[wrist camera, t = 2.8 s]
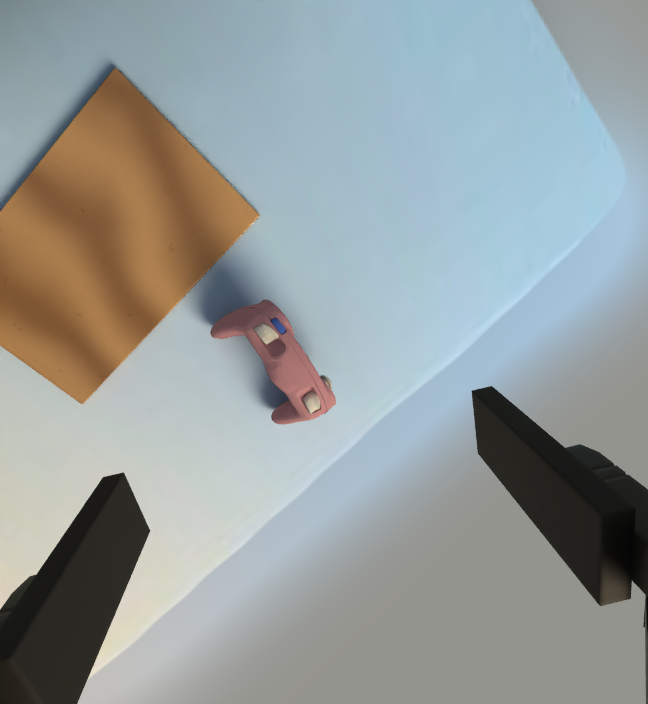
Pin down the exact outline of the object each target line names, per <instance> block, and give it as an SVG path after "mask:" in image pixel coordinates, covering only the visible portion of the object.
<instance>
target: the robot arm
mask: <svg viewBox="0 0 648 704" xmlns="http://www.w3.org/2000/svg"><path fill="white" fill-rule="evenodd" d="M472 398H473V408H474V418H475V429H476V439H477V449H478V454H479V455H480V456H481V458H482V459H483V460H484V461H485V463H486V464H487V465H488V466H489V468H490V469H491V470H492V471H493V473H494V474H495V475H496V476H497V478H498V479H499V480H500V481H501V483H502V484H503V485H504V486H505V488H506V489H507V490H508V491H509V492H510V494H511V495H512V497H513V498H514V499H515V500H516V501H517V503H518V504H519V505H520V507H521V508H522V509H523V510H524V511H525V513H526V514H527V515H528V517H529V518H530V519H531V520H532V521H533V523H534V524H535V525H536V526H537V528H538V529H539V530H540V532H541V533H542V534H543V535H544V536H545V538H546V539H547V540H548V542H549V543H550V544H551V545H552V547H553V548H554V549H555V550H556V552H557V553H558V554H559V555H560V557H561V558H562V559H563V560H564V562H565V563H566V564H567V565H568V566H569V568H570V569H571V570H572V571H573V573H574V574H575V575H576V577H577V578H578V579H579V580H580V582H581V583H582V584H583V585H584V587H585V588H586V589H587V590H588V592H589V593H590V594H591V595H592V597H593V598H594V599H595V600H596V602H597V603H598V604H599V605H600V606H603V605H607V604H611V603H614V602H619V601H623V600H627V599H630V598H631V583H632V581H633V582H634V583H635V584H636V585H637V586H638V587H639V588H640V589H641V590H642V591H643V592H644V593H645V595H646V599H645V612H644V627H645V637H646V638H645V639H646V643H645V644H646V704H648V490H647V489H646V488H645V487H644V486H642V485H641V484H640V483H639V482H637V481H636V480H635V479H633V478H632V477H631V476H629V475H626V473H625V472H624V471H623V470H622V469H620V468H619V467H618V466H614V464H613V463H612V462H611V461H610V460H608V459H607V458H606V457H605V456H603V455H602V454H601V453H599V452H597V451H595V450H592V449H590V448H588V447H585V446H583V445H575V446H571V447H567V448H564V447H563V446H562V445H561V444H560V443H558V442H557V441H556V440H555V439H554V438H553V437H551V436H550V435H549V434H548V433H547V432H545V431H544V430H543V429H542V428H541V427H540V426H538V425H537V424H536V423H535V422H534V421H532V420H531V419H530V418H529V417H528V416H526V415H525V414H524V413H523V412H522V411H520V410H519V409H518V408H517V407H516V406H515V405H513V404H512V403H511V402H510V401H509V400H508V399H506V398H505V397H504V396H503V395H502V394H500V393H499V392H498V391H497V390H496V389H495V388H493V387H492V386H491V387H486V388H482V389H477V390H474V391H472ZM149 532H150V530H149V527H148V525H147V523H146V521H145V518H144V516H143V514H142V512H141V510H140V507H139V505H138V503H137V501H136V499H135V496H134V494H133V492H132V490H131V487H130V485H129V483H128V481H127V479H126V476H125V474H124V473H119V474H115V475H111V476H107V477H103V478H102V480H101V481H100V483H99V484H98V486H97V487H96V489H95V490H94V491H93V493H92V494H91V496H90V497H89V499H88V500H87V502H86V503H85V505H84V506H83V508H82V509H81V510H80V512H79V513H78V515H77V516H76V518H75V519H74V521H73V522H72V524H71V525H70V526H69V528H68V529H67V531H66V532H65V534H64V535H63V537H62V538H61V540H60V541H59V543H58V544H57V545H56V547H55V548H54V550H53V551H52V553H51V554H50V556H49V557H48V559H47V560H46V562H45V563H44V564H43V566H42V567H41V569H40V570H39V572H38V573H37V575H33V576H30V577H29V578H28V579H27V580H26V581H25V582H23V583H22V584H21V585H20V586H19V587H18V588H17V589H16V590H15V591H14V592H13V593H12V594H11V596H10V597H9V598H8V600H7V601H6V603H5V604H4V605H3V607H2V608H1V610H0V704H77V703H78V700H79V698H80V695H81V693H82V691H83V688H84V686H85V684H86V681H87V679H88V677H89V674H90V672H91V670H92V667H93V665H94V662H95V660H96V658H97V655H98V653H99V651H100V648H101V646H102V644H103V641H104V639H105V636H106V634H107V632H108V629H109V627H110V625H111V622H112V620H113V618H114V615H115V613H116V610H117V608H118V606H119V603H120V601H121V599H122V596H123V594H124V591H125V589H126V587H127V584H128V582H129V580H130V577H131V575H132V573H133V570H134V568H135V565H136V563H137V561H138V558H139V556H140V554H141V551H142V549H143V547H144V544H145V542H146V539H147V537H148V535H149Z"/></svg>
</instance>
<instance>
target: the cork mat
mask: <svg viewBox="0 0 648 704" xmlns="http://www.w3.org/2000/svg"><path fill="white" fill-rule="evenodd" d="M259 216H260V215H259V213H258V212H257V211H256V210H255V209H254V208H253V207H252V206H251V205H250V204H249V203H248V202H247V201H246V200H245V199H244V198H243V197H242V196H241V195H240V194H239V193H238V192H237V191H236V190H235V189H234V188H233V187H232V186H231V185H230V184H229V183H228V182H227V181H226V180H225V179H224V178H223V177H222V176H221V175H220V174H219V172H218V171H217V170H216V169H215V168H214V167H213V166H212V165H211V164H210V163H209V162H208V161H207V160H206V159H205V158H204V157H203V156H202V155H201V154H200V153H199V152H198V151H197V150H196V149H195V148H194V147H193V146H192V145H191V144H190V143H189V142H188V141H187V140H186V139H185V138H184V137H183V136H182V135H181V134H180V133H179V131H178V130H177V129H176V128H175V127H174V126H173V125H172V124H171V123H170V122H169V121H168V120H167V119H166V118H165V117H164V116H163V115H162V114H161V113H160V112H159V111H158V110H157V109H156V108H155V107H154V106H153V105H152V104H151V103H150V102H149V101H148V100H147V99H146V98H145V97H144V96H143V95H142V94H141V93H140V92H139V90H138V89H137V88H136V87H135V86H134V85H133V84H132V83H131V82H130V81H129V80H128V79H127V78H126V77H125V76H124V75H123V74H122V73H121V72H120V71H119V70H118V69H117V68H114V69H113V71H112V72H111V73H110V74H109V76H108V77H107V78H106V79H105V81H104V82H103V83H102V84H101V86H100V87H99V88H98V89H97V91H96V92H95V93H94V94H93V96H92V97H91V98H90V99H89V101H88V102H87V103H86V104H85V106H84V107H83V108H82V109H81V111H80V112H79V113H78V114H77V116H76V117H75V118H74V119H73V121H72V122H71V123H70V124H69V126H68V127H67V128H66V130H65V131H64V132H63V133H62V135H61V136H60V137H59V138H58V140H57V141H56V142H55V143H54V145H53V146H52V147H51V148H50V150H49V151H48V152H47V153H46V155H45V156H44V157H43V158H42V160H41V161H40V162H39V163H38V165H37V166H36V167H35V168H34V170H33V171H32V172H31V173H30V175H29V176H28V177H27V178H26V180H25V181H24V182H23V183H22V185H21V186H20V187H19V188H18V190H17V191H16V192H15V193H14V195H13V196H12V197H11V198H10V200H9V201H8V202H7V203H6V205H5V206H4V207H3V209H2V210H1V211H0V346H2V347H3V348H5V349H6V350H7V351H9V352H10V353H12V354H13V355H14V356H16V357H17V358H18V359H20V360H21V361H23V362H24V363H25V364H27V365H28V366H30V367H31V368H32V369H34V370H35V371H36V372H38V373H39V374H41V375H42V376H43V377H45V378H46V379H48V380H49V381H50V382H52V383H53V384H55V385H56V386H57V387H59V388H60V389H61V390H63V391H64V392H66V393H67V394H68V395H70V396H71V397H73V398H74V399H75V400H77V401H78V402H79V403H81V404H83V403H84V402H85V401H86V400H87V399H88V398H89V397H90V396H91V395H92V394H93V393H94V392H95V391H96V390H97V389H98V387H99V386H100V385H101V384H102V383H103V382H104V381H105V380H106V379H107V378H108V377H109V376H110V375H111V374H112V373H113V372H114V370H115V369H116V368H117V367H118V366H119V365H120V364H121V363H122V362H123V361H124V360H125V359H126V358H127V357H128V356H129V354H130V353H131V352H132V351H133V350H134V349H135V348H136V347H137V346H138V345H139V344H140V343H141V342H142V341H143V340H144V339H145V337H146V336H147V335H148V334H149V333H150V332H151V331H152V330H153V329H154V328H155V327H156V326H157V325H158V324H159V323H160V322H161V320H162V319H163V318H164V317H165V316H166V315H167V314H168V313H169V312H170V311H171V310H172V309H173V308H174V307H175V306H176V305H177V303H178V302H179V301H180V300H181V299H182V298H183V297H184V296H185V295H186V294H187V293H188V292H189V291H190V290H191V289H192V288H193V286H194V285H195V284H196V283H197V282H198V281H199V280H200V279H201V278H202V277H203V276H204V275H205V274H206V273H207V272H208V271H209V269H210V268H211V267H212V266H213V265H214V264H215V263H216V262H217V261H218V260H219V259H220V258H221V257H222V256H223V255H224V254H225V252H226V251H227V250H228V249H229V248H230V247H231V246H232V245H233V244H234V243H235V242H236V241H237V240H238V239H239V238H240V237H241V235H242V234H243V233H244V232H245V231H246V230H247V229H248V228H249V227H250V226H251V225H252V224H253V223H254V222H255V221H256V220H257V218H258V217H259Z"/></svg>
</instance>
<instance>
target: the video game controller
mask: <svg viewBox="0 0 648 704" xmlns="http://www.w3.org/2000/svg"><path fill="white" fill-rule="evenodd" d="M238 335H245V336H246V337H247V338H248V340H249V341H250V343H251V344H252V346H253V348H254V349H255V350H256V352H257V353H258V354H259V356H260V357H261V359H262V360H263V362H264V365H265V368H266V371H267V373H268V375H269V377H270V379H271V380H272V382H273V383H274V384H275V385H276V386H277V387H278V388H279V389H280V390H282V391H283V392H284V393H285V394H286V395H287V397H288V398H289V400H288V401H286V402H284V403H283V404H281V405H280V406H278V407H277V408H276V409H275V410H274V411H273V413H272V416H271V418H272V420H273V421H274V422H275V423H277V424H290V423H295V422H300V421H306V420H311V419H314V418H316V417H318V416H320V415H322V414H325V413H326V412H327V411H328V410H329V409H331V408H332V407H333V406H334V405H335V404H336V400H335V396H334V394H333V392H332V390H331V389H330V388H332V383H331V381H330V379H329V378H328V377H326V376H323V375H321V377H320V376H319V374H318V373H317V371H316V369H315V368H314V366H313V365H312V363H311V361H310V360H309V358H308V357H307V355H306V354H305V352H304V351H303V349H302V348H301V346H300V345H299V344H298V342H297V341H296V339H295V338H294V333H293V330H292V327H291V325H290V323H289V321H288V319H287V318H286V317H285V315H284V314H283V313H282V312H281V310H280V309H279V308H278V307H277V306H276V305H275V304H274V303H272V302H271V301H269V300H263V301H261V302H260V303H259V304H256V305H249V306H245V307H242V308H239V309H237V310H234V311H232V312H231V313H229V314H227V315H226V316H224V317H222V318H221V319H219V320H218V321H217V322H216V323H215V324H214V326H213V327H212V329H211V336H212V337H214V338H219V339H224V338H228V337H232V336H238Z"/></svg>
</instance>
